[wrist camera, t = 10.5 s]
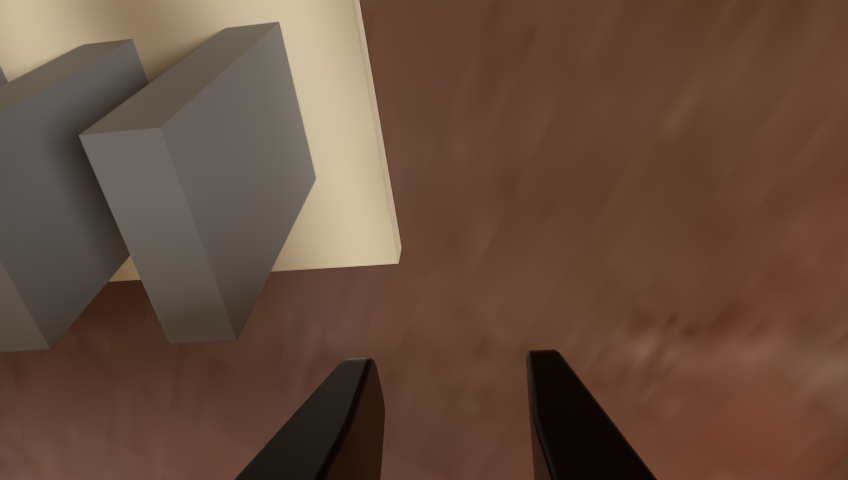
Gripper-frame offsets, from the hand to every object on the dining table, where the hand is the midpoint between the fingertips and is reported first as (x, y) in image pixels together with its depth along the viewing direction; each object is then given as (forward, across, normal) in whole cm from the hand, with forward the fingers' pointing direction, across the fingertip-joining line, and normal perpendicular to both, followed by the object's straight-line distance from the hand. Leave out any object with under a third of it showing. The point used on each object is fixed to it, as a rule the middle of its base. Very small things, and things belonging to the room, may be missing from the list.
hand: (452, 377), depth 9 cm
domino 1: (+12, +10, 0) cm, 16 cm away
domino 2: (+12, +6, 0) cm, 13 cm away
